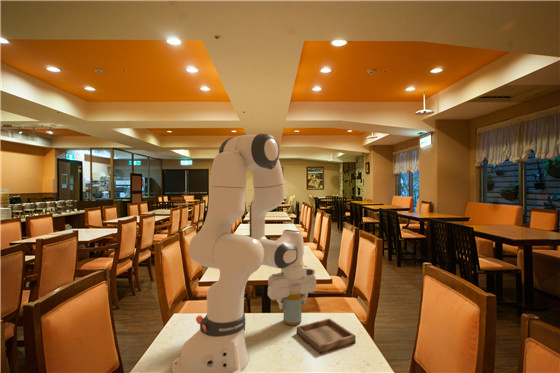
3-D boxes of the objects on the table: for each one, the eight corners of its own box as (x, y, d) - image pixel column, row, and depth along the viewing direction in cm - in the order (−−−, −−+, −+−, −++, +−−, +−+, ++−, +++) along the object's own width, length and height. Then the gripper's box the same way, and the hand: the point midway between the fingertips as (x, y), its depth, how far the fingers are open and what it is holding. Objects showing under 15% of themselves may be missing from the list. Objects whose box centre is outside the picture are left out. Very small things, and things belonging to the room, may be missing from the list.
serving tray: (320, 354, 95) (320, 346, 95) (296, 333, 108) (296, 326, 108) (355, 342, 102) (355, 335, 102) (329, 324, 115) (329, 318, 115)
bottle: (301, 318, 121) (301, 281, 120) (301, 326, 114) (301, 287, 113) (284, 317, 121) (284, 280, 121) (282, 325, 114) (282, 286, 114)
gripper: (272, 277, 110) (272, 314, 110) (318, 269, 119) (318, 304, 119) (264, 272, 115) (264, 308, 115) (309, 265, 125) (309, 298, 125)
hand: (292, 306), depth 117 cm, fingers open, 8 cm apart
